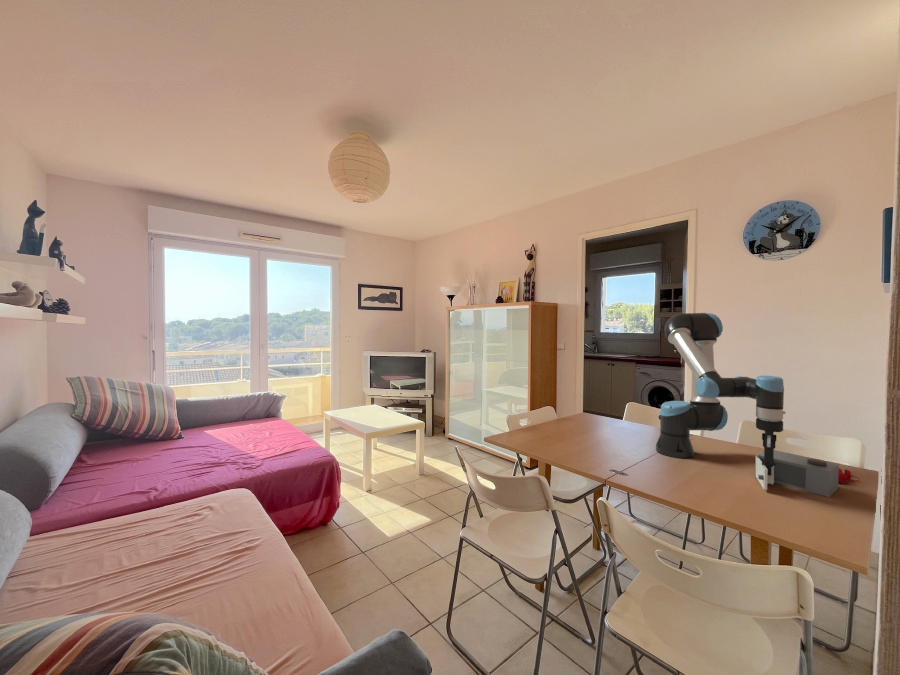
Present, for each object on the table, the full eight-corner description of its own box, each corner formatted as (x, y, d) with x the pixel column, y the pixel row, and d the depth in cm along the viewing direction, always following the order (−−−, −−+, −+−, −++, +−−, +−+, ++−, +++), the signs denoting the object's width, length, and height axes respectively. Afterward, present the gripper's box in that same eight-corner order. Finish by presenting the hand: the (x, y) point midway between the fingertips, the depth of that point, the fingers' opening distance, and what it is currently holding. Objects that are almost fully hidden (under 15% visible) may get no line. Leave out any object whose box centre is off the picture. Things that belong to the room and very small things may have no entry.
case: (756, 477, 144) (757, 452, 144) (767, 470, 151) (768, 446, 151) (829, 497, 128) (830, 468, 127) (838, 488, 134) (838, 461, 134)
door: (751, 476, 145) (751, 454, 145) (758, 477, 144) (758, 455, 144) (759, 490, 133) (760, 466, 132) (767, 491, 132) (768, 468, 131)
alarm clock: (808, 460, 153) (860, 463, 140) (812, 475, 152) (865, 480, 139) (797, 464, 148) (850, 468, 135) (801, 481, 147) (855, 486, 134)
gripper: (783, 424, 128) (782, 492, 129) (783, 416, 138) (782, 479, 139) (754, 421, 133) (754, 486, 134) (757, 413, 143) (756, 474, 144)
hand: (768, 482), depth 136 cm, fingers closed
